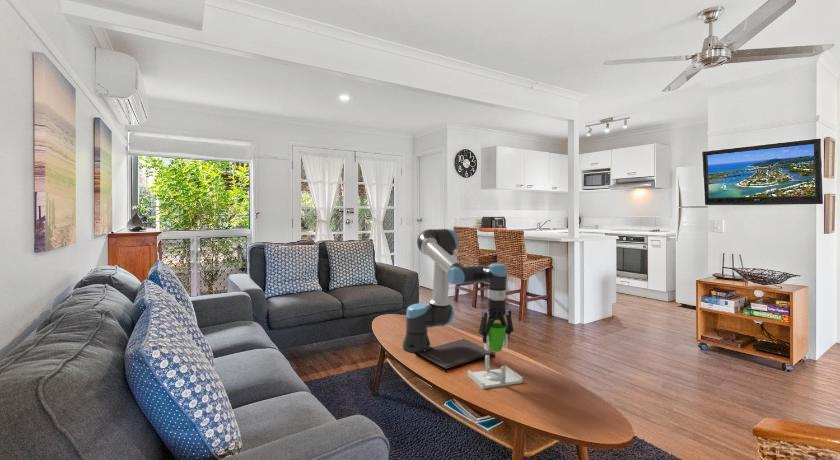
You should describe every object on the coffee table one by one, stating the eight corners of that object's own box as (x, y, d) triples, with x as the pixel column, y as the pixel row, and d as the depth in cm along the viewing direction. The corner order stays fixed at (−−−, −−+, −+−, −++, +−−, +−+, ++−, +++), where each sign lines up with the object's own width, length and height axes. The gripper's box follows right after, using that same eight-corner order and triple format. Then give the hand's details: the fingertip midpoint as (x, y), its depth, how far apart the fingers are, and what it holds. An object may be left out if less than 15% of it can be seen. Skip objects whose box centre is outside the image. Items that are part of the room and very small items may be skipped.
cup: (506, 354, 175) (507, 329, 175) (485, 352, 177) (485, 327, 176) (506, 347, 184) (506, 323, 183) (485, 345, 186) (486, 321, 185)
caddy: (466, 375, 185) (467, 357, 185) (504, 369, 192) (505, 352, 192) (483, 389, 171) (484, 370, 170) (523, 383, 178) (524, 365, 177)
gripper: (479, 302, 172) (478, 354, 173) (522, 299, 180) (521, 348, 181) (471, 298, 179) (470, 348, 180) (513, 295, 187) (511, 343, 188)
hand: (495, 348), depth 181 cm, fingers closed on cup, 9 cm apart
